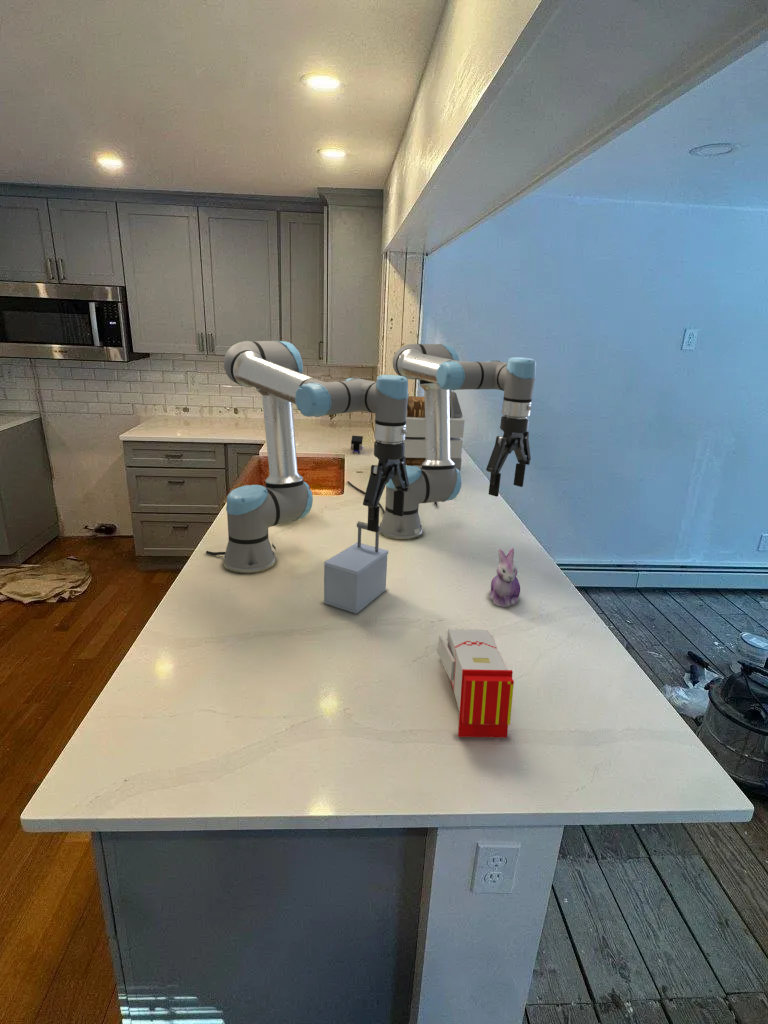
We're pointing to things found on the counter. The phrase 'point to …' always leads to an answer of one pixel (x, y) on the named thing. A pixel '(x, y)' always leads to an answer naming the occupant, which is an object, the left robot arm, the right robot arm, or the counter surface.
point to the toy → (478, 682)
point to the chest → (354, 586)
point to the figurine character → (356, 443)
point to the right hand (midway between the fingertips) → (506, 490)
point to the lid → (357, 555)
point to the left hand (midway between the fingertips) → (385, 522)
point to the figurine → (505, 581)
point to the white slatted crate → (416, 431)
